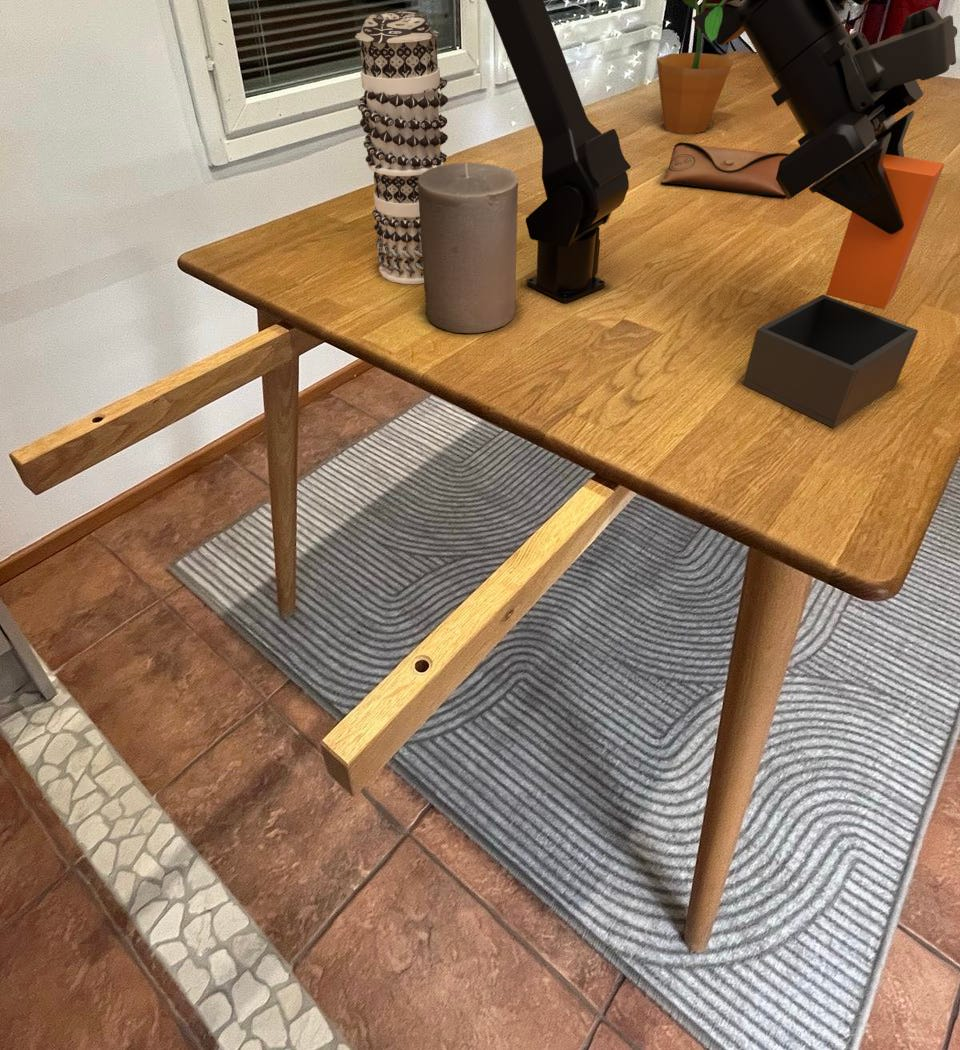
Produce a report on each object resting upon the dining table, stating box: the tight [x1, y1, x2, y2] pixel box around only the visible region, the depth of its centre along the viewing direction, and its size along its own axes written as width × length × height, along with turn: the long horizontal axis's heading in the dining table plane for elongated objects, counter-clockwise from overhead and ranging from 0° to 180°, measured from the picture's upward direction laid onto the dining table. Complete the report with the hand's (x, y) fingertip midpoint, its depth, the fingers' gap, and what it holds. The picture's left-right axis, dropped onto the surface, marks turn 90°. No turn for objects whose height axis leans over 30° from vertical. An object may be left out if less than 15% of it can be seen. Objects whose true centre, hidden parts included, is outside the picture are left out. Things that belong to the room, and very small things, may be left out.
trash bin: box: [742, 294, 919, 429], centre depth 67 cm, size 10×9×6 cm
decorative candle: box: [354, 11, 449, 285], centre depth 80 cm, size 9×9×25 cm
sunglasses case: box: [660, 141, 790, 197], centre depth 108 cm, size 18×7×7 cm
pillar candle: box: [418, 162, 519, 334], centre depth 75 cm, size 10×10×15 cm
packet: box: [825, 154, 945, 310], centre depth 63 cm, size 4×5×11 cm
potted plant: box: [656, 0, 735, 135], centre depth 119 cm, size 18×19×30 cm
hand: (903, 223), depth 62 cm, fingers closed on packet, 3 cm apart
